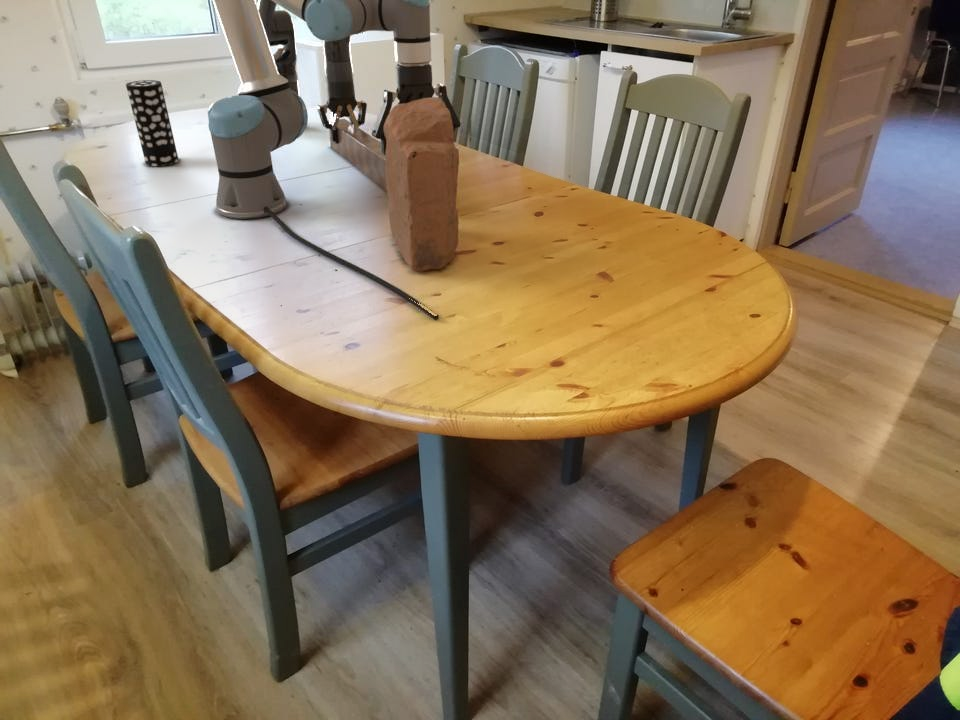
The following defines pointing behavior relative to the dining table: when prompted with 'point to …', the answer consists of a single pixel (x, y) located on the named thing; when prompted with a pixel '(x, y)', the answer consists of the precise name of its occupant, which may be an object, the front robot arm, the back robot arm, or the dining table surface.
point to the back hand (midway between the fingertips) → (345, 141)
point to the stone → (422, 182)
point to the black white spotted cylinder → (152, 122)
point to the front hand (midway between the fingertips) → (419, 165)
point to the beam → (360, 151)
